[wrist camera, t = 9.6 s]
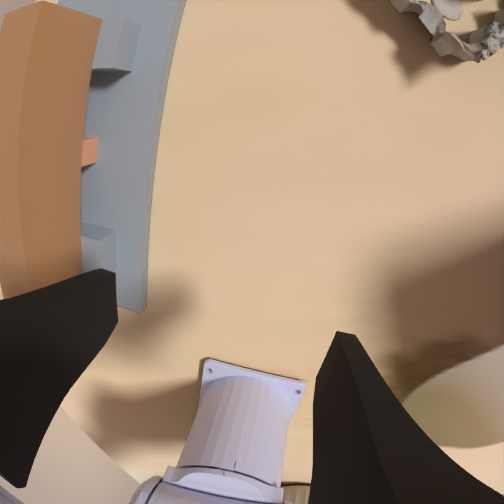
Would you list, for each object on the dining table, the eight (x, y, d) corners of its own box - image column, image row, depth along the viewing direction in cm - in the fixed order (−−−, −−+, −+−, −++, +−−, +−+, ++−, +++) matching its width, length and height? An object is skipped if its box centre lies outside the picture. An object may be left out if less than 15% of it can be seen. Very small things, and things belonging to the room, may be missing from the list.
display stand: (146, 306, 22) (128, 329, 20) (48, 271, 23) (26, 287, 20) (189, -13, 13) (170, -32, 11) (66, 3, 14) (40, -5, 11)
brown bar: (83, 277, 19) (36, 317, 14) (48, 264, 19) (1, 299, 14) (102, 19, 12) (42, 0, 8) (61, 26, 12) (1, 15, 8)
